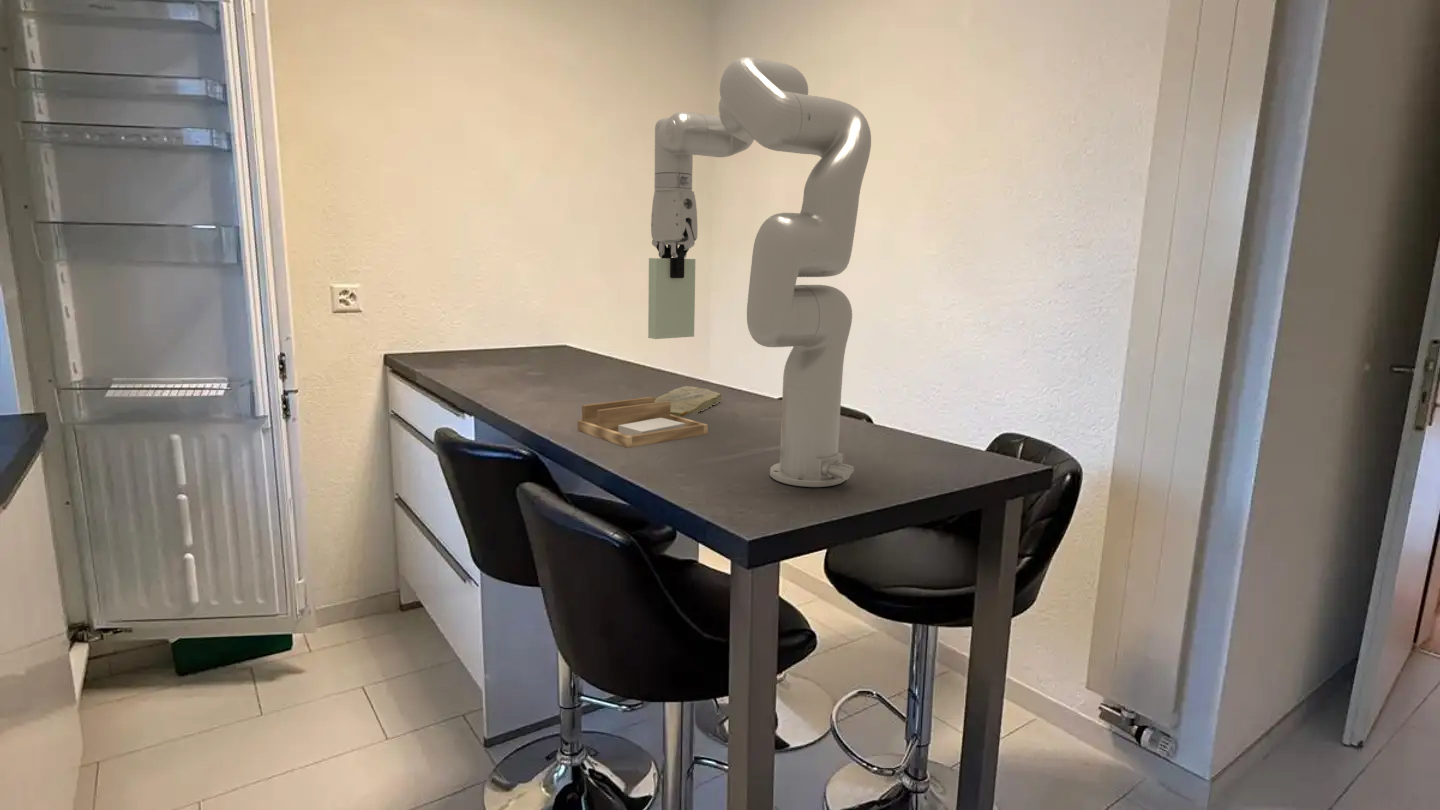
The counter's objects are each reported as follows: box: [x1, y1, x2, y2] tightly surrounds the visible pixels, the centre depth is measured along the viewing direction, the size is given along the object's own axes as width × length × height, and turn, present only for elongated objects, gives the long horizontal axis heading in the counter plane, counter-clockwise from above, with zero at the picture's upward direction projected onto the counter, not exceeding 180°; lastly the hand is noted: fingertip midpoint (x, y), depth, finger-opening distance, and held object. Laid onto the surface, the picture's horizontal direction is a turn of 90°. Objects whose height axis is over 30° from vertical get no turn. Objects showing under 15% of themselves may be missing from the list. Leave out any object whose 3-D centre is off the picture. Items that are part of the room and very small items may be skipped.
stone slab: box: [655, 385, 723, 418], centre depth 187 cm, size 12×4×30 cm
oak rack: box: [577, 396, 709, 449], centre depth 156 cm, size 17×19×6 cm
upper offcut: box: [618, 418, 685, 436], centre depth 154 cm, size 7×11×2 cm, turn 136°
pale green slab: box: [647, 257, 696, 340], centre depth 162 cm, size 2×10×16 cm, turn 131°
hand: (672, 276), depth 161 cm, fingers closed on pale green slab, 2 cm apart
